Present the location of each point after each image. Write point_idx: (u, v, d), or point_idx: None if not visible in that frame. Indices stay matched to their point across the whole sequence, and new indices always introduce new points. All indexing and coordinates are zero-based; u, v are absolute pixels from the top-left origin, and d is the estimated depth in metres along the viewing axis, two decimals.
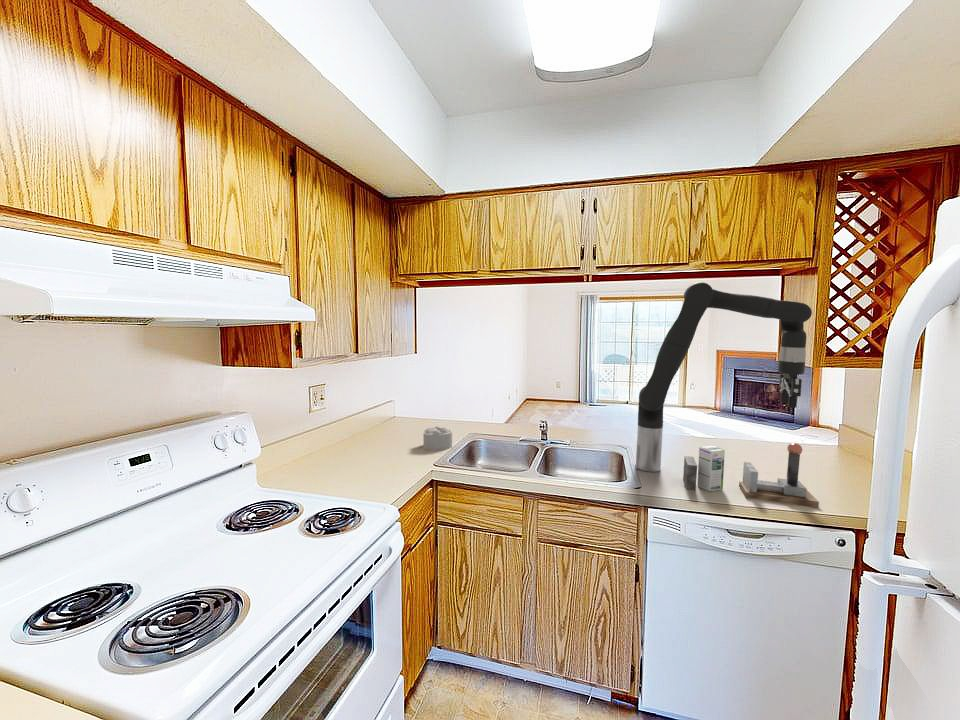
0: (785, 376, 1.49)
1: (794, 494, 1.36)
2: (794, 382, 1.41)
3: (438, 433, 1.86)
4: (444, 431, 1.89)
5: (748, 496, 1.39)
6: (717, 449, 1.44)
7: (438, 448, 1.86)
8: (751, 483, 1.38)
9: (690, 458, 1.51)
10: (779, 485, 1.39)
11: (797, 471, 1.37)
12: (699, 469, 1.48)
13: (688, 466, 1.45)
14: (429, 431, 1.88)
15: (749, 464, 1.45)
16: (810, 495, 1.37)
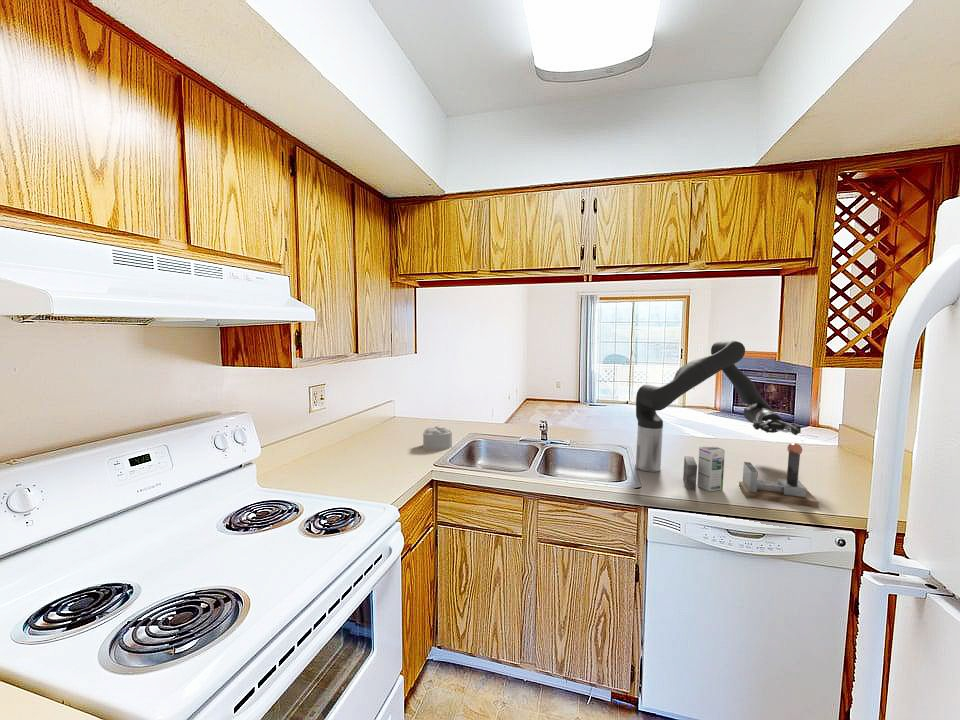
0: None
1: (794, 494, 1.36)
2: None
3: (438, 433, 1.86)
4: (444, 431, 1.89)
5: (748, 496, 1.39)
6: (717, 449, 1.44)
7: (438, 448, 1.87)
8: (751, 483, 1.38)
9: (690, 458, 1.51)
10: (779, 485, 1.39)
11: (797, 471, 1.37)
12: (699, 469, 1.48)
13: (688, 466, 1.45)
14: (429, 431, 1.88)
15: (749, 464, 1.45)
16: (810, 495, 1.37)
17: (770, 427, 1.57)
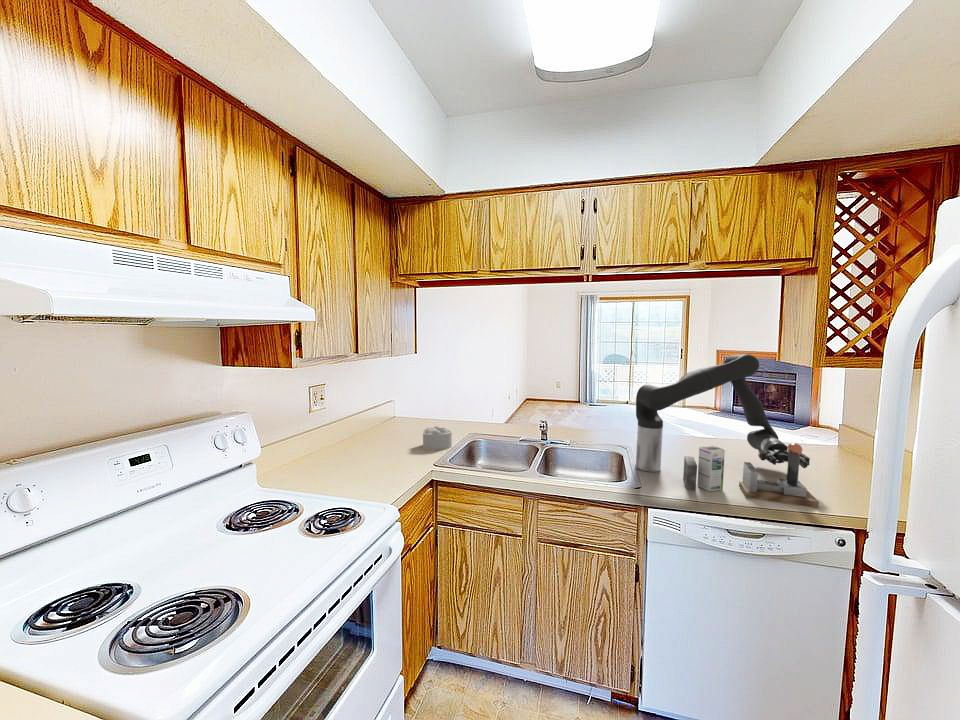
0: None
1: (794, 494, 1.36)
2: None
3: (438, 433, 1.86)
4: (444, 431, 1.89)
5: (748, 496, 1.39)
6: (717, 449, 1.44)
7: (438, 448, 1.87)
8: (751, 483, 1.38)
9: (690, 458, 1.51)
10: (779, 485, 1.39)
11: (797, 471, 1.37)
12: (699, 469, 1.48)
13: (688, 466, 1.45)
14: (429, 431, 1.88)
15: (749, 464, 1.45)
16: (810, 495, 1.37)
17: (777, 458, 1.48)
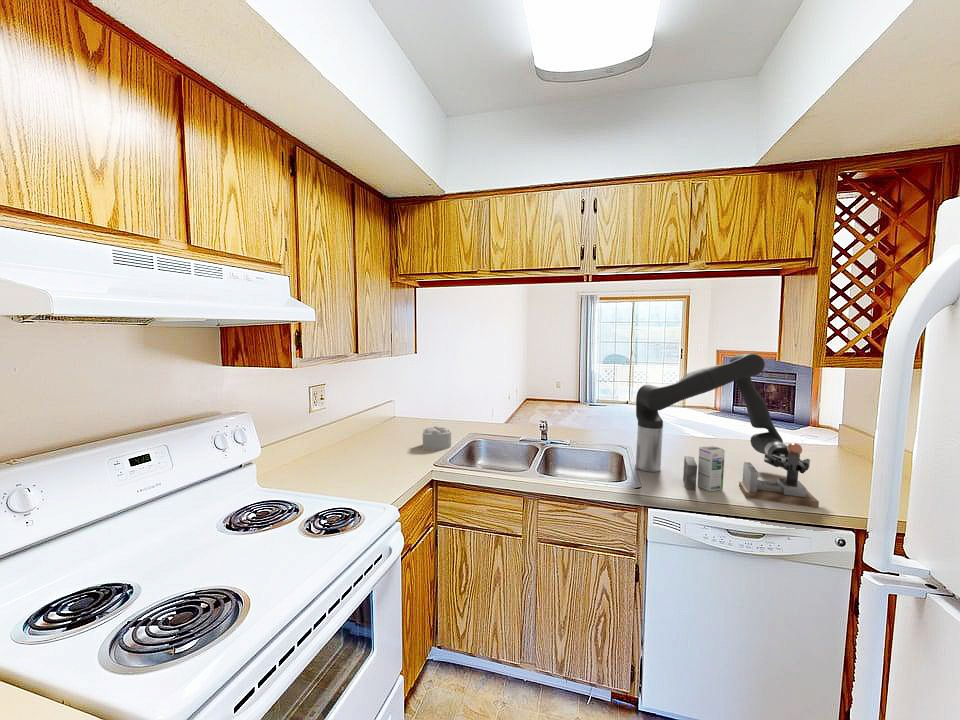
0: None
1: (794, 494, 1.36)
2: (809, 461, 1.41)
3: (437, 433, 1.87)
4: (443, 431, 1.89)
5: (748, 496, 1.39)
6: (717, 449, 1.44)
7: (437, 448, 1.87)
8: (751, 483, 1.38)
9: (690, 458, 1.51)
10: (779, 485, 1.39)
11: (797, 471, 1.37)
12: (699, 469, 1.48)
13: (688, 466, 1.45)
14: (428, 431, 1.88)
15: (749, 464, 1.45)
16: (810, 495, 1.37)
17: None
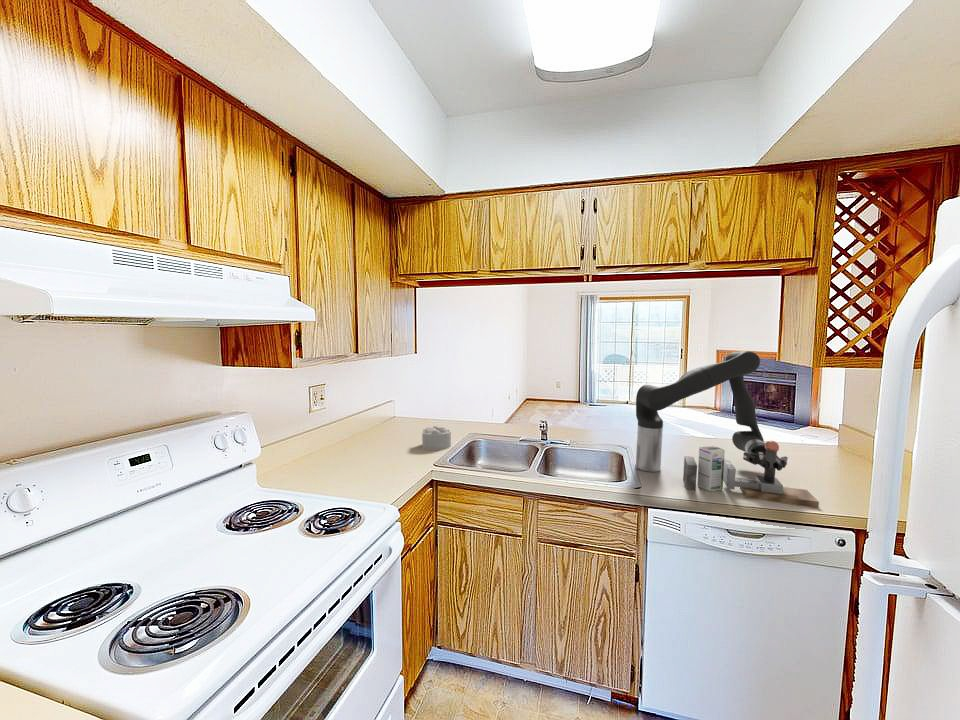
0: (759, 453, 1.48)
1: (771, 491, 1.38)
2: None
3: (437, 433, 1.87)
4: (443, 431, 1.89)
5: (748, 496, 1.39)
6: (717, 449, 1.44)
7: (437, 448, 1.87)
8: (729, 480, 1.41)
9: (690, 458, 1.51)
10: (757, 482, 1.41)
11: (774, 468, 1.39)
12: (699, 469, 1.48)
13: (688, 466, 1.45)
14: (428, 431, 1.88)
15: (728, 462, 1.47)
16: (810, 495, 1.37)
17: None
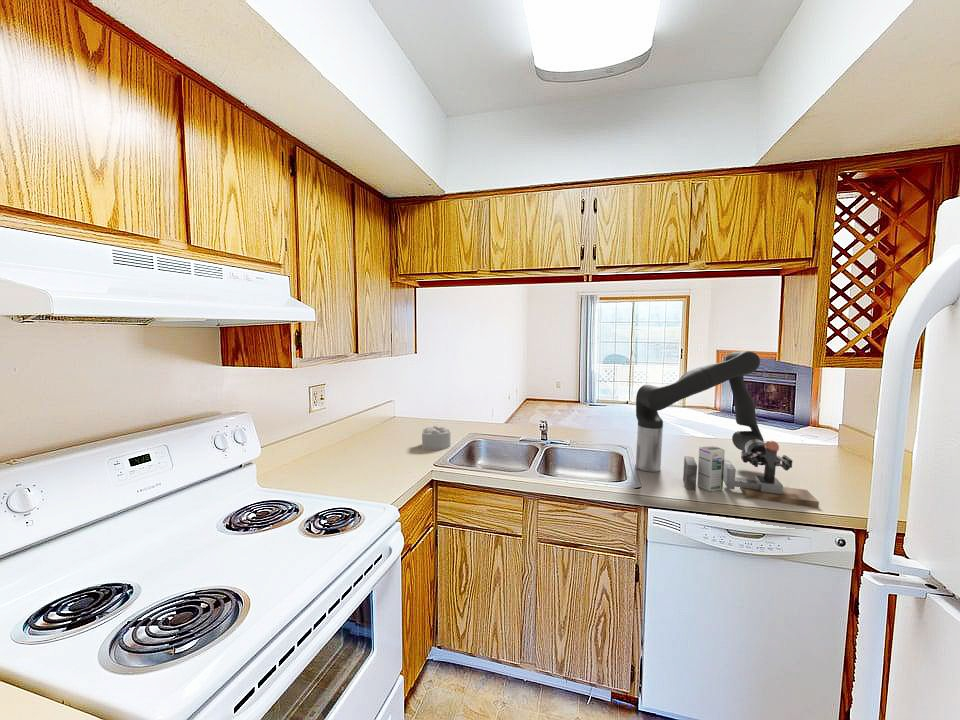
0: None
1: (771, 491, 1.38)
2: None
3: (437, 433, 1.87)
4: (443, 430, 1.89)
5: (748, 496, 1.39)
6: (717, 449, 1.44)
7: (437, 447, 1.87)
8: (729, 480, 1.41)
9: (690, 458, 1.51)
10: (757, 482, 1.41)
11: (774, 468, 1.39)
12: (699, 469, 1.48)
13: (688, 466, 1.45)
14: (428, 431, 1.88)
15: (728, 462, 1.47)
16: (810, 495, 1.37)
17: (759, 460, 1.45)
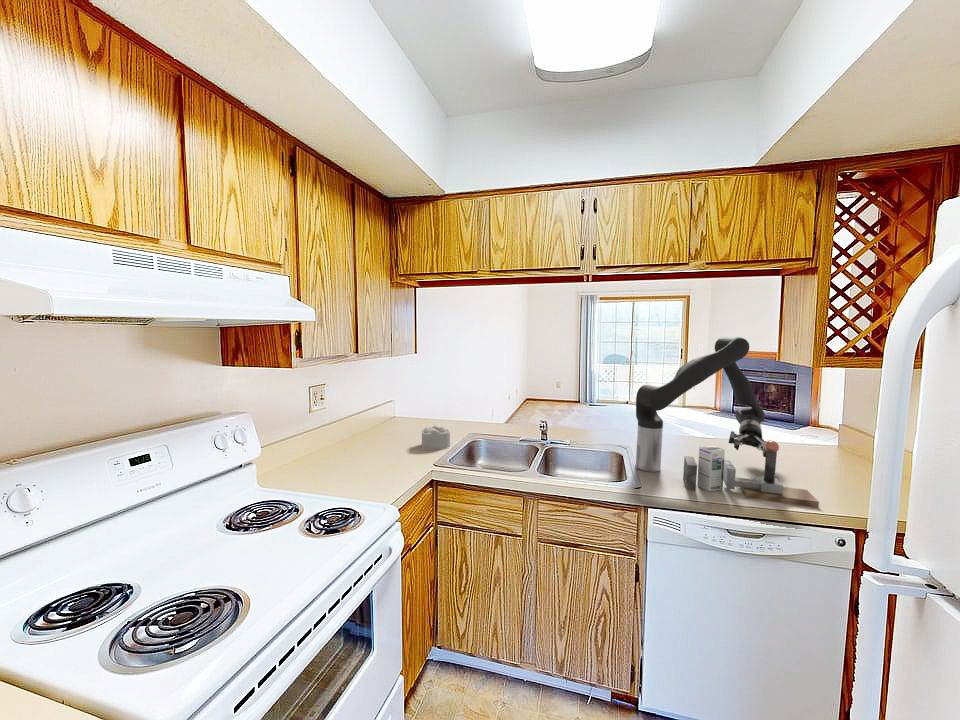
0: None
1: (771, 491, 1.38)
2: None
3: (436, 432, 1.87)
4: (442, 430, 1.90)
5: (748, 496, 1.39)
6: (717, 449, 1.44)
7: (436, 447, 1.87)
8: (729, 480, 1.41)
9: (690, 458, 1.51)
10: (757, 482, 1.41)
11: (774, 468, 1.39)
12: (699, 469, 1.48)
13: (688, 466, 1.45)
14: (427, 431, 1.89)
15: (728, 462, 1.47)
16: (810, 495, 1.37)
17: (744, 442, 1.58)
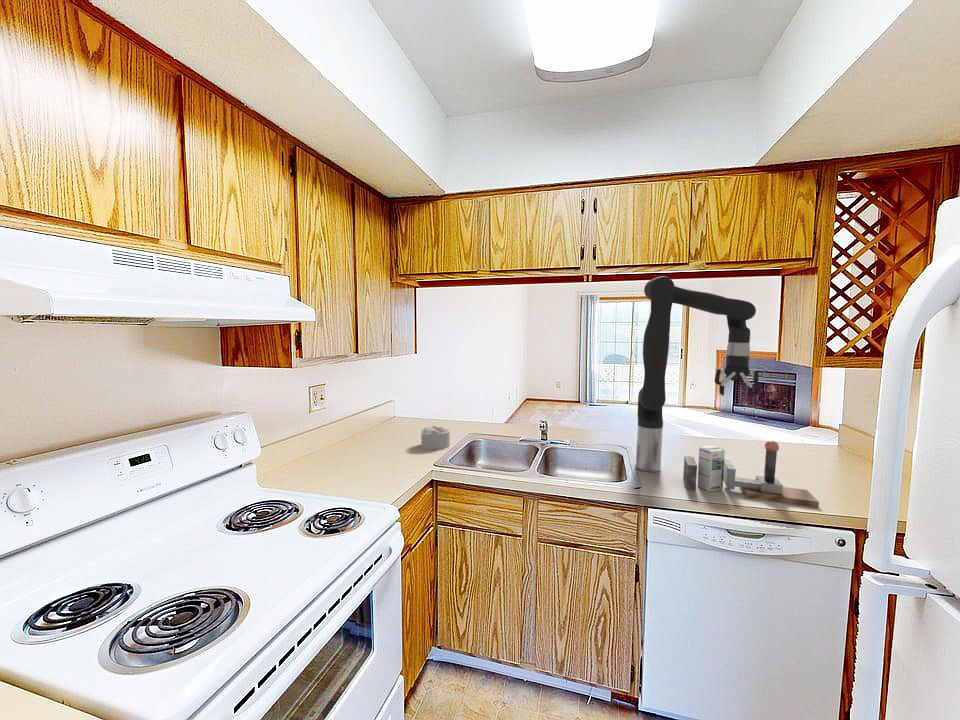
0: (733, 370, 1.59)
1: (771, 491, 1.38)
2: None
3: (436, 432, 1.87)
4: (442, 430, 1.90)
5: (748, 496, 1.39)
6: (717, 449, 1.44)
7: (436, 447, 1.88)
8: (729, 480, 1.41)
9: (690, 458, 1.51)
10: (757, 482, 1.41)
11: (774, 468, 1.39)
12: (699, 469, 1.48)
13: (688, 466, 1.45)
14: (427, 430, 1.89)
15: (728, 462, 1.47)
16: (810, 495, 1.37)
17: None
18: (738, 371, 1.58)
